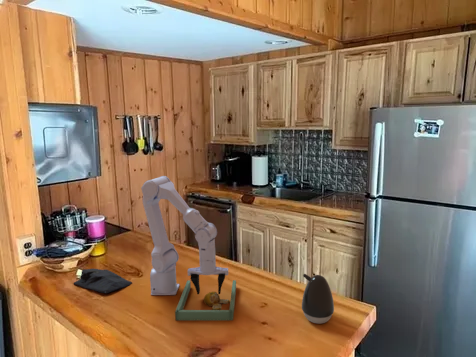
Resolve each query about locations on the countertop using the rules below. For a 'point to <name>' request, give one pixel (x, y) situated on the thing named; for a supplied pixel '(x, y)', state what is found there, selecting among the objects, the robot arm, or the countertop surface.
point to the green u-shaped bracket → (204, 314)
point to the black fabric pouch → (101, 280)
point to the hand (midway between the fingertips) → (209, 292)
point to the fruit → (214, 300)
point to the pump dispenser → (317, 300)
